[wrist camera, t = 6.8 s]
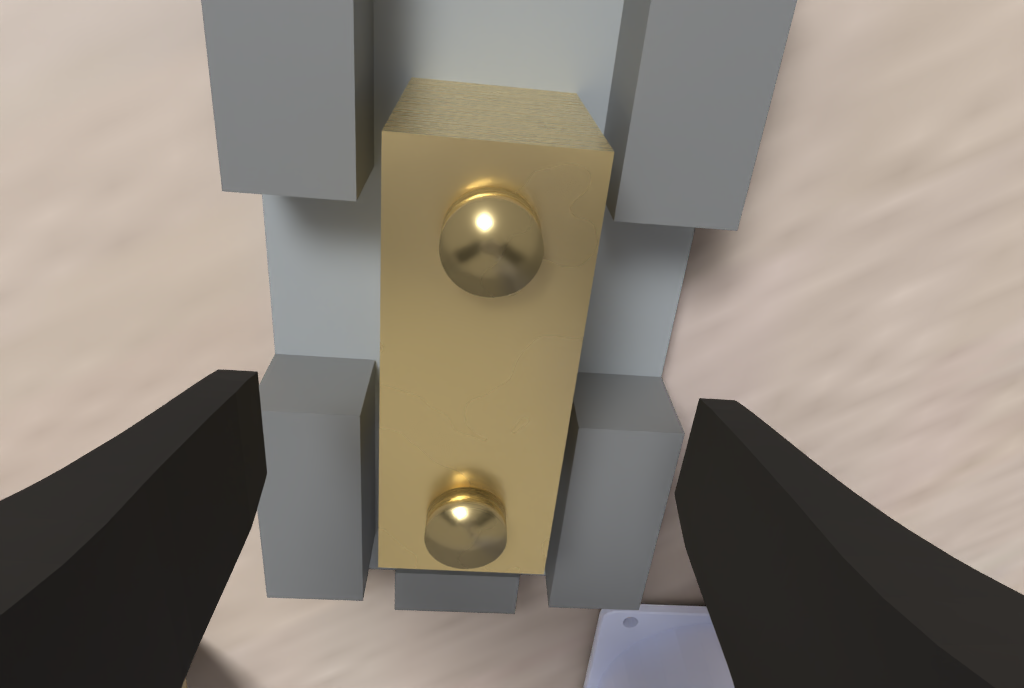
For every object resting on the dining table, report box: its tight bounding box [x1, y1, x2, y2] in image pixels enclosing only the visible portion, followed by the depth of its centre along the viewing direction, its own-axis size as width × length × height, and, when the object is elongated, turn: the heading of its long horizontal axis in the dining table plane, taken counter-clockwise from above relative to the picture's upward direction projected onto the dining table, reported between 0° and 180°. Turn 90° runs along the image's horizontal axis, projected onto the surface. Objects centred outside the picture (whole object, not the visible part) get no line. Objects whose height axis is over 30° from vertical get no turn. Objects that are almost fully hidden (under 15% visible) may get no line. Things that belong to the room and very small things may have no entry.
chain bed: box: [201, 0, 797, 614], centre depth 16 cm, size 10×20×4 cm, turn 175°
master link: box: [378, 77, 614, 574], centre depth 15 cm, size 4×9×6 cm, turn 174°
